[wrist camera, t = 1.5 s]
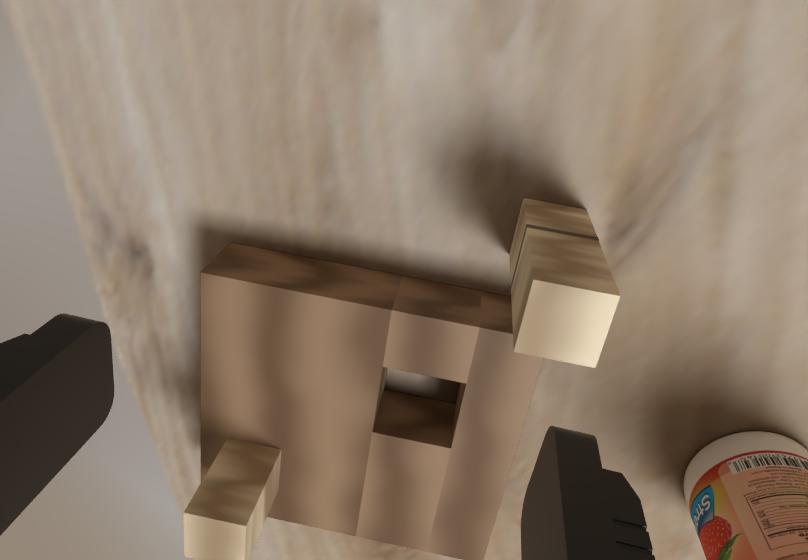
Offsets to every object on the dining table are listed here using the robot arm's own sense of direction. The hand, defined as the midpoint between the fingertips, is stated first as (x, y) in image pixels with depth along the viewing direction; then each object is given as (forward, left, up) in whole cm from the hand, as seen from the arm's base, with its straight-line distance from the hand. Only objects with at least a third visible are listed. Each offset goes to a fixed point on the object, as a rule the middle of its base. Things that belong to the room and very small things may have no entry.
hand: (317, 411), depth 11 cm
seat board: (+2, +22, -30) cm, 37 cm away
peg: (-8, +7, -30) cm, 31 cm away
